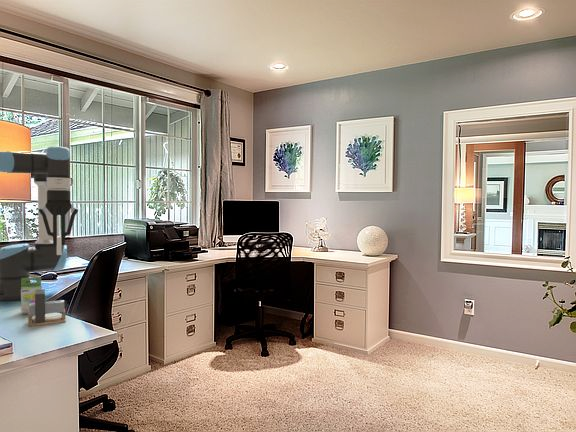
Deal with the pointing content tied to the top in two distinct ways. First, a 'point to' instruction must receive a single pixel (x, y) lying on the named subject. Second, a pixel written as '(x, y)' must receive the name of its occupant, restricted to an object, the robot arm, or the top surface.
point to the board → (47, 320)
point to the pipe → (49, 307)
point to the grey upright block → (40, 305)
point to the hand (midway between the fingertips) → (59, 254)
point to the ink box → (28, 292)
